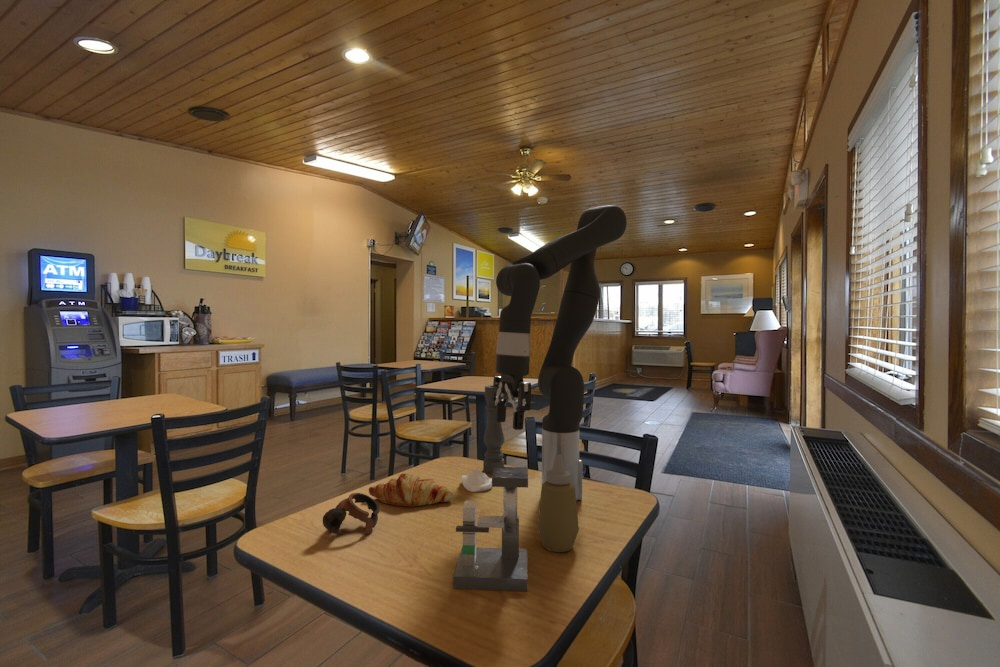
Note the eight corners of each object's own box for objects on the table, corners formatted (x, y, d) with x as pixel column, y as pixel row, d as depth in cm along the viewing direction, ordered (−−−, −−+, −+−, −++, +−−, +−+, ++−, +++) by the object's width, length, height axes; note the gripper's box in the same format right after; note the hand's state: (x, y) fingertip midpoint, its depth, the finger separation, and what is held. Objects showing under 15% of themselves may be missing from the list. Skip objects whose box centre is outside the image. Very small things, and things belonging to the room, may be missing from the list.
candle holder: (505, 467, 139) (505, 385, 138) (503, 474, 132) (503, 388, 132) (484, 467, 139) (485, 384, 139) (481, 473, 133) (482, 387, 133)
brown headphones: (347, 519, 103) (366, 487, 103) (372, 548, 98) (392, 515, 98) (304, 525, 93) (324, 490, 92) (329, 558, 88) (351, 521, 88)
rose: (451, 470, 123) (476, 462, 130) (450, 486, 123) (476, 477, 130) (477, 478, 116) (503, 469, 124) (477, 496, 116) (502, 486, 124)
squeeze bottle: (552, 560, 84) (552, 462, 84) (529, 541, 91) (529, 451, 91) (587, 550, 88) (588, 456, 88) (562, 533, 95) (563, 446, 95)
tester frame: (527, 559, 84) (527, 494, 84) (527, 591, 74) (527, 517, 74) (461, 557, 85) (462, 493, 85) (453, 588, 75) (454, 515, 75)
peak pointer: (489, 530, 78) (489, 526, 78) (488, 532, 77) (488, 529, 77) (456, 529, 78) (456, 525, 78) (455, 531, 77) (455, 528, 77)
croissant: (455, 511, 115) (458, 478, 118) (450, 507, 106) (453, 471, 109) (371, 507, 115) (376, 475, 119) (359, 502, 107) (365, 467, 110)
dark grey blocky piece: (527, 523, 82) (527, 467, 82) (527, 538, 76) (528, 478, 76) (480, 521, 83) (480, 466, 82) (477, 537, 77) (477, 477, 76)
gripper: (544, 355, 98) (539, 431, 98) (513, 352, 111) (509, 419, 111) (513, 354, 95) (508, 432, 95) (485, 350, 108) (480, 419, 108)
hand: (508, 425), depth 103 cm, fingers open, 8 cm apart
